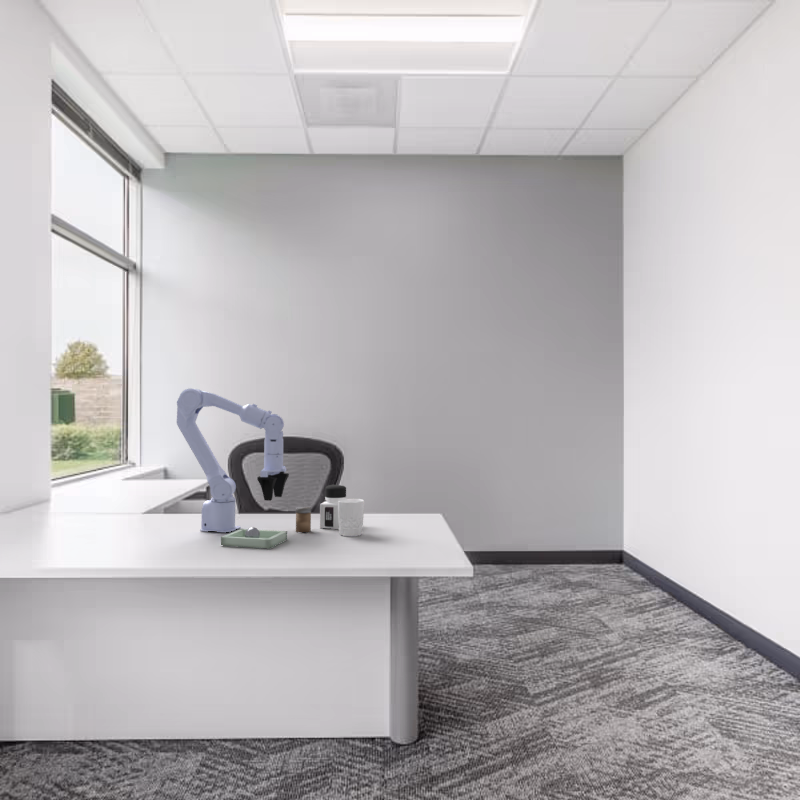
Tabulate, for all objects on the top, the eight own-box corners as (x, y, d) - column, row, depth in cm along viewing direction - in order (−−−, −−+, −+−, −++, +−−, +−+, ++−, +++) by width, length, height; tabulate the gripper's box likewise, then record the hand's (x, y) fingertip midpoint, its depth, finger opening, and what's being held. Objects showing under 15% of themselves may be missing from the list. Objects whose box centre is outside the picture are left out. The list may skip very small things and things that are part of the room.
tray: (220, 546, 171) (220, 537, 171) (241, 537, 182) (241, 528, 182) (269, 548, 168) (269, 539, 168) (287, 539, 179) (287, 531, 179)
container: (343, 529, 195) (344, 487, 195) (319, 528, 196) (320, 486, 197) (350, 525, 202) (351, 484, 203) (327, 524, 204) (327, 483, 204)
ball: (246, 543, 174) (240, 538, 171) (250, 529, 176) (245, 524, 173) (259, 545, 174) (254, 540, 170) (263, 530, 175) (258, 526, 172)
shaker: (293, 532, 190) (293, 508, 190) (298, 529, 194) (299, 506, 194) (307, 533, 189) (308, 509, 189) (313, 530, 193) (313, 507, 193)
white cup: (331, 534, 188) (332, 500, 188) (351, 530, 194) (351, 497, 194) (349, 538, 182) (350, 503, 182) (369, 534, 188) (369, 500, 188)
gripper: (276, 456, 187) (275, 502, 186) (294, 452, 201) (294, 495, 201) (254, 455, 188) (253, 501, 188) (274, 452, 202) (273, 494, 202)
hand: (273, 498), depth 194 cm, fingers open, 7 cm apart
